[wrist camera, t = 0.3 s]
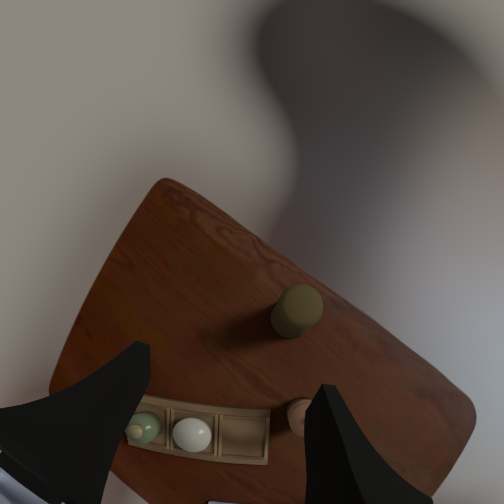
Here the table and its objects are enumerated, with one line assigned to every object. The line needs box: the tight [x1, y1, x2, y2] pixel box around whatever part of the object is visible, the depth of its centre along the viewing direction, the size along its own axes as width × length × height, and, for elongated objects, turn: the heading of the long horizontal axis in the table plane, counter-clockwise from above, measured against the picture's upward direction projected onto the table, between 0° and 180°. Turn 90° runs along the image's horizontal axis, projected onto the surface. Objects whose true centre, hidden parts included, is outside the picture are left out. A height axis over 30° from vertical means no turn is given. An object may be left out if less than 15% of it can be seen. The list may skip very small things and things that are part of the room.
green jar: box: [125, 411, 162, 444], centre depth 30 cm, size 4×4×5 cm
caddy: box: [127, 395, 271, 465], centre depth 33 cm, size 9×21×2 cm, turn 87°
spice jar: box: [286, 397, 312, 437], centre depth 31 cm, size 5×5×7 cm
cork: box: [270, 284, 323, 338], centre depth 34 cm, size 6×6×11 cm
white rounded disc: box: [173, 416, 212, 452], centre depth 31 cm, size 5×5×2 cm
